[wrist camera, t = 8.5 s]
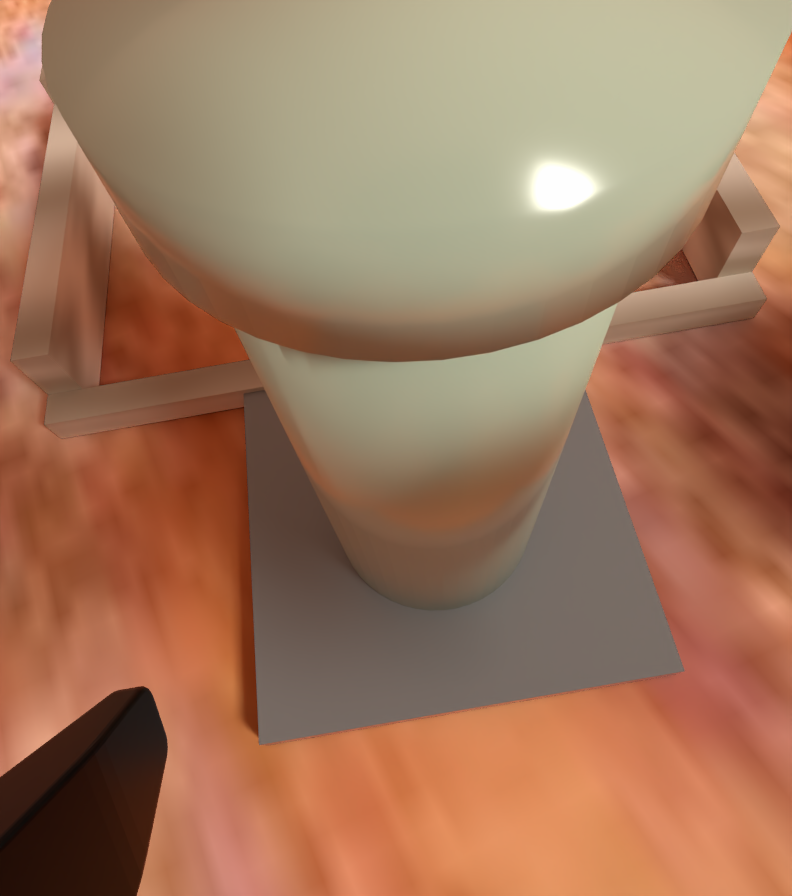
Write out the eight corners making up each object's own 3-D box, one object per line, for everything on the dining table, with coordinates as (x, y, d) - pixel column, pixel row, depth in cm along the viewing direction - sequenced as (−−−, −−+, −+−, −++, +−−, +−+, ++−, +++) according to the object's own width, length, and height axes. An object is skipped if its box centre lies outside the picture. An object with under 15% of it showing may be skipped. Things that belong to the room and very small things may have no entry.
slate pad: (674, 674, 16) (684, 670, 16) (267, 745, 16) (259, 745, 16) (560, 345, 21) (564, 330, 21) (249, 399, 21) (243, 386, 21)
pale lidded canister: (496, 672, 16) (677, 360, 3) (281, 567, 18) (-119, 105, 5) (579, 463, 18) (857, -159, 6) (384, 389, 20) (280, -214, 8)
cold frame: (753, 317, 21) (815, 228, 18) (61, 439, 21) (-18, 374, 18) (613, 58, 28) (637, -43, 25) (94, 149, 28) (42, 62, 25)
